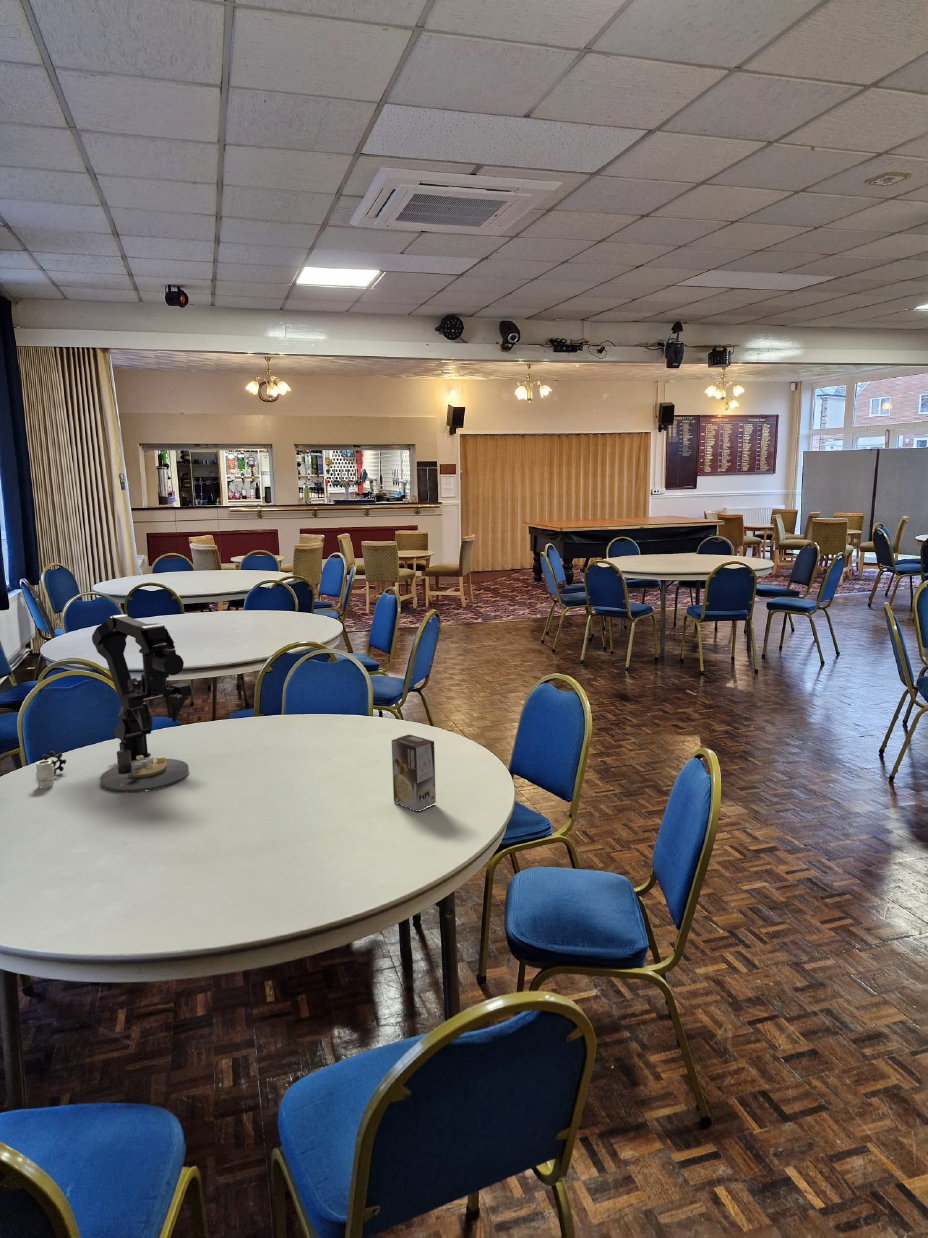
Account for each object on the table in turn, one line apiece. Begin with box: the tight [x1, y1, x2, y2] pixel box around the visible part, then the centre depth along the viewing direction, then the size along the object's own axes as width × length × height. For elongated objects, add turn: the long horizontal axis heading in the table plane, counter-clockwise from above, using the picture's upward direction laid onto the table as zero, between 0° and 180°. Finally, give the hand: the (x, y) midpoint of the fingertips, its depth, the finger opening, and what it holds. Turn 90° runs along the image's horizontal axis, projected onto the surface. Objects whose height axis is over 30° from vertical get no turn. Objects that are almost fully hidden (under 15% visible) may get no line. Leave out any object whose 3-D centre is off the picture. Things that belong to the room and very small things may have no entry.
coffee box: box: [391, 734, 437, 811], centre depth 188 cm, size 9×6×16 cm
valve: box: [35, 750, 67, 789], centre depth 208 cm, size 7×7×12 cm
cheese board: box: [116, 749, 167, 778], centre depth 207 cm, size 11×16×8 cm
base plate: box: [99, 758, 190, 793], centre depth 210 cm, size 22×22×2 cm
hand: (158, 725), depth 216 cm, fingers open, 9 cm apart
